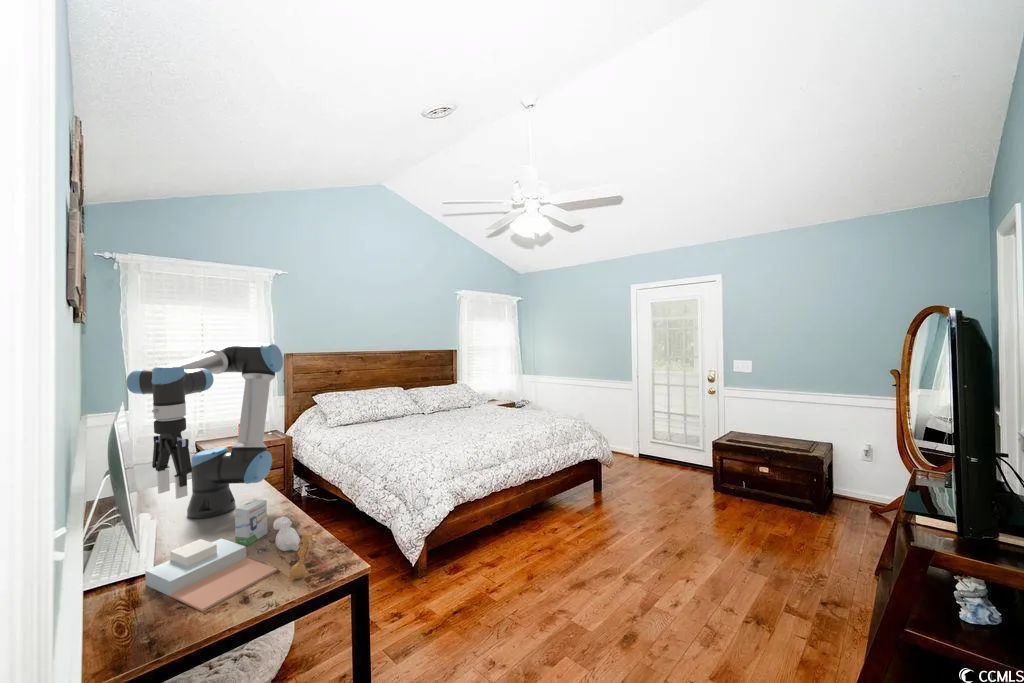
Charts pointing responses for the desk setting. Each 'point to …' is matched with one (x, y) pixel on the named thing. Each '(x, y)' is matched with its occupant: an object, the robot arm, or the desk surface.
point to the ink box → (250, 521)
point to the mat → (223, 584)
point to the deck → (193, 568)
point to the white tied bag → (286, 535)
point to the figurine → (301, 557)
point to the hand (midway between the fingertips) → (172, 494)
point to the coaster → (193, 552)
